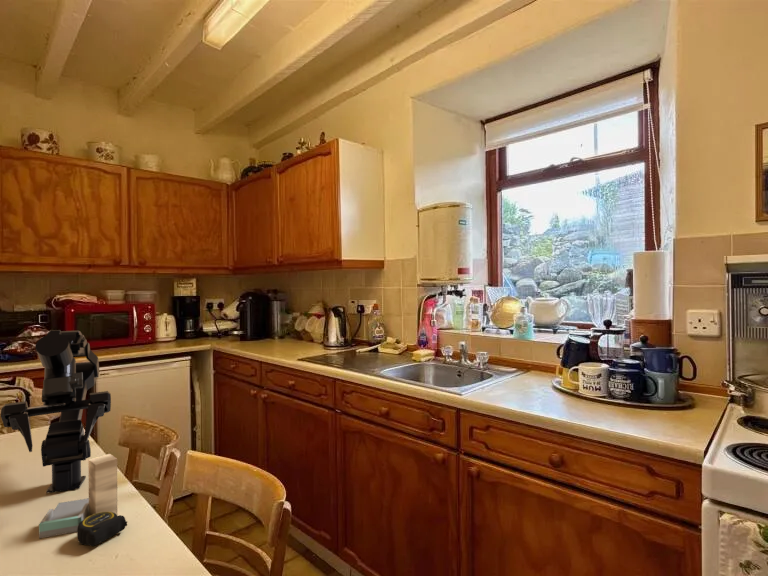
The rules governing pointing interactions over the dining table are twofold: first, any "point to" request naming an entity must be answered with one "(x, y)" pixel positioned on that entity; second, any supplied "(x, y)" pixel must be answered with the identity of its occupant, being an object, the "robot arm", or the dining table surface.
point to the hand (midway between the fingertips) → (58, 446)
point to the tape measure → (99, 527)
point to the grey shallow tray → (64, 518)
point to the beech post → (102, 484)
